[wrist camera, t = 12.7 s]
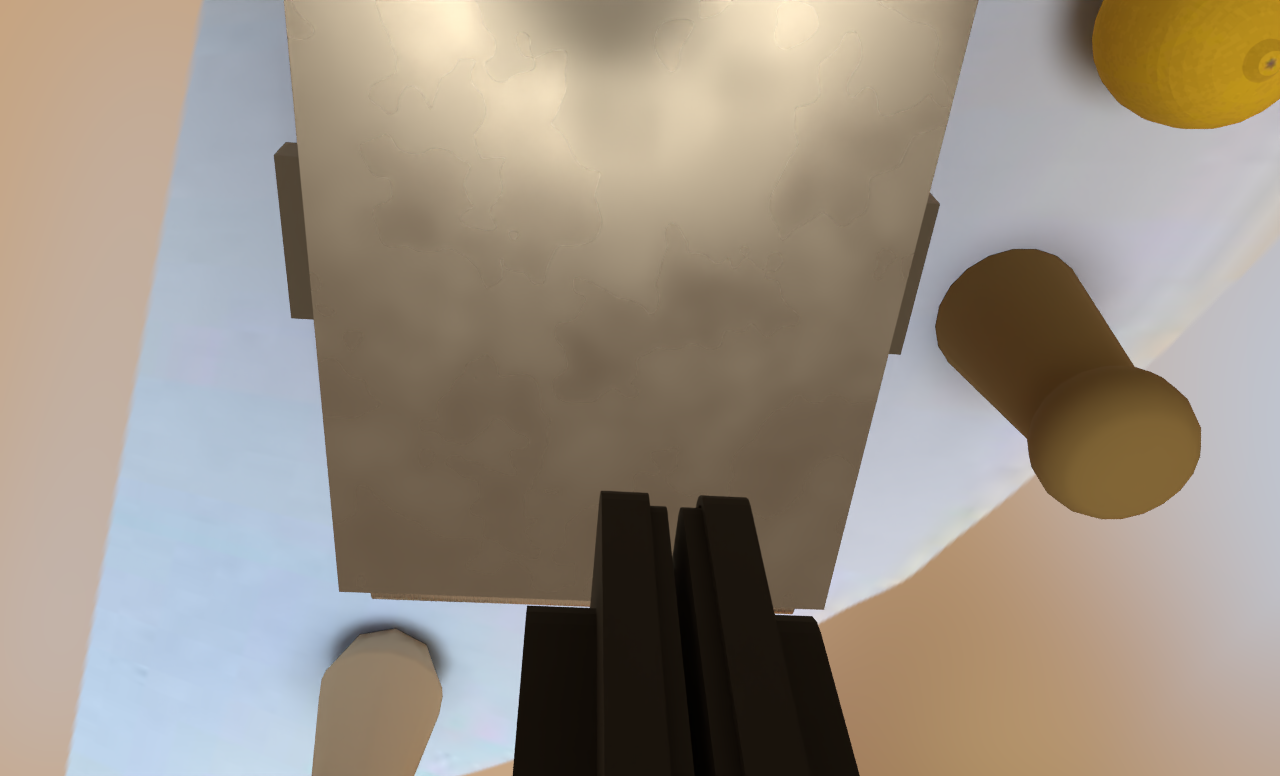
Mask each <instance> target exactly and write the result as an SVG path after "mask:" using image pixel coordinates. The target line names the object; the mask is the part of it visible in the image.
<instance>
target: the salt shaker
mask: <svg viewBox="0 0 1280 776" xmlns="http://www.w3.org/2000/svg"><path fill="white" fill-rule="evenodd" d="M442 697H443V696H442V686H441V684H440V681H439V679H438V676H437V674H436V671H435V669H434V666H433V663H432V660H431V657H430V654H429V651H428V648H427V645H426V644H424V643H422V642H420V641H418V640H416V639H414V638H412V637H411V636H409V635H407V634H405V633H403V632H401V631H399V630H397V629H389V630H384V631H378V632H372V633H366V634H360V635H359V636H358V637H357V638H356V639H355V640H354V641H353V642H352V644H351V645H350V646H349V647H348V648H347V649H346V650H345V651H344V652H343V653H342V654H341V655H340V656H339V657H338V658H337V660H336V661H335V662H334V663H333V664H332V665H331V666H330V667H329V668H328V669H327V670H326V672H325V674H324V676H323V678H322V681H321V688H320V695H319V704H318V714H317V725H316V735H315V746H314V757H313V767H312V776H414V775H415V772H416V770H417V768H418V765H419V763H420V760H421V758H422V755H423V753H424V750H425V748H426V745H427V743H428V740H429V738H430V735H431V733H432V731H433V728H434V726H435V723H436V721H437V718H438V716H439V712H440V707H441V702H442Z"/></svg>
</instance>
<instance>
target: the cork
mask: <svg viewBox="0 0 1280 776" xmlns="http://www.w3.org/2000/svg"><path fill="white" fill-rule="evenodd" d="M935 328H936V335H937V341H938V346H939V348H940V350H941V351H942V353H943V354H944V356H945V358H946V359H947V361H948V362H949V363H950V364H951V365H952V366H953V367H954V368H955V369H956V370H957V371H958V372H959V373H960V374H961V375H962V376H963V377H964V378H965V379H966V380H967V381H968V382H969V383H970V384H971V385H972V386H973V387H974V388H975V389H976V390H977V391H978V392H979V393H980V394H981V395H982V396H984V397H985V398H986V399H987V400H988V401H989V402H990V403H991V404H992V405H993V406H994V407H995V408H996V409H997V410H998V411H999V412H1000V413H1001V414H1002V415H1003V416H1004V417H1005V418H1006V419H1007V420H1008V421H1009V422H1010V423H1011V424H1012V425H1013V426H1014V427H1015V428H1016V429H1017V430H1018V431H1019V432H1020V433H1021V434H1022V435H1023V436H1025V437H1026V438H1027V442H1028V451H1029V458H1030V462H1031V467H1032V469H1033V470H1034V472H1035V474H1036V475H1037V477H1038V479H1039V480H1040V482H1041V483H1042V485H1043V487H1044V488H1045V490H1046V491H1047V493H1048V494H1049V495H1051V496H1052V497H1053V498H1055V499H1056V500H1057V501H1059V502H1060V503H1061V504H1063V505H1064V506H1066V507H1067V508H1068V509H1070V510H1071V511H1073V512H1077V513H1081V514H1084V515H1088V516H1091V517H1095V518H1100V519H1123V518H1128V517H1131V516H1136V515H1140V514H1144V513H1146V512H1148V511H1150V510H1152V509H1154V508H1156V507H1158V506H1160V505H1162V504H1164V503H1165V502H1166V501H1167V500H1169V499H1170V498H1171V497H1172V496H1174V495H1175V494H1176V493H1177V492H1179V491H1180V490H1181V489H1182V487H1183V486H1184V485H1185V484H1186V482H1187V481H1188V480H1189V478H1190V477H1191V476H1192V474H1193V473H1194V470H1195V468H1196V465H1197V463H1198V460H1199V458H1200V450H1201V427H1200V425H1199V423H1198V420H1197V418H1196V416H1195V414H1194V412H1193V410H1192V407H1191V405H1190V403H1189V401H1188V399H1187V398H1186V397H1185V396H1184V395H1182V394H1181V393H1180V392H1179V391H1178V390H1177V389H1176V388H1175V387H1173V386H1172V385H1171V384H1170V383H1168V382H1167V381H1166V380H1165V379H1164V378H1162V377H1160V376H1158V375H1156V374H1154V373H1152V372H1149V371H1146V370H1143V369H1140V368H1136V367H1134V365H1133V364H1132V362H1131V361H1130V359H1129V357H1128V356H1127V354H1126V353H1125V351H1124V350H1123V348H1122V346H1121V345H1120V343H1119V342H1118V340H1117V339H1116V337H1115V335H1114V334H1113V332H1112V331H1111V329H1110V328H1109V326H1108V324H1107V323H1106V321H1105V320H1104V318H1103V317H1102V315H1101V313H1100V312H1099V310H1098V309H1097V307H1096V306H1095V304H1094V302H1093V301H1092V299H1091V298H1090V296H1089V295H1088V293H1087V292H1086V290H1085V288H1084V287H1083V285H1082V284H1081V282H1080V281H1079V279H1078V277H1077V276H1076V274H1075V273H1074V271H1073V270H1072V268H1070V267H1069V266H1068V265H1067V264H1066V263H1064V262H1063V261H1062V260H1061V259H1060V258H1058V257H1057V256H1055V255H1052V254H1049V253H1046V252H1043V251H1040V250H1037V249H1012V250H1009V251H1005V252H1002V253H998V254H995V255H991V256H989V257H987V258H985V259H984V260H982V261H980V262H979V263H977V264H975V265H973V266H972V267H970V268H968V269H967V270H966V271H965V272H964V273H963V274H962V275H961V276H960V277H959V278H958V279H957V280H956V281H955V282H954V283H953V284H952V285H951V286H950V288H949V290H948V292H947V294H946V295H945V297H944V299H943V301H942V303H941V304H940V306H939V311H938V316H937V321H936V326H935Z"/></svg>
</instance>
